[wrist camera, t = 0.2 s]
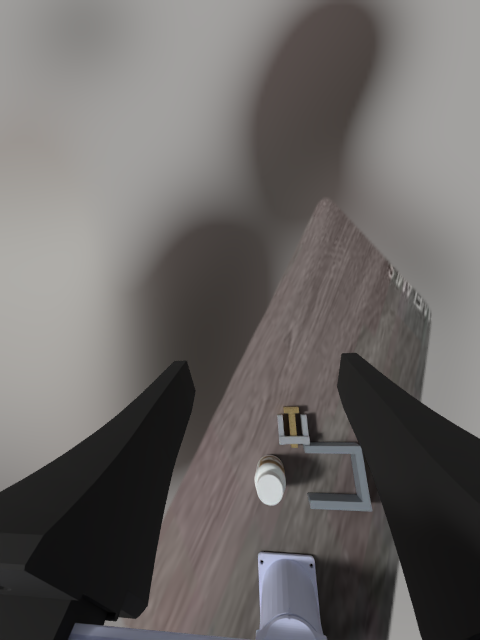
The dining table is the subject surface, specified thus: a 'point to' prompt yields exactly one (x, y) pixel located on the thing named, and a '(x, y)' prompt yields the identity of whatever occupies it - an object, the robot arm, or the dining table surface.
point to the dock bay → (326, 499)
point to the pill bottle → (270, 480)
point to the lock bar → (292, 421)
